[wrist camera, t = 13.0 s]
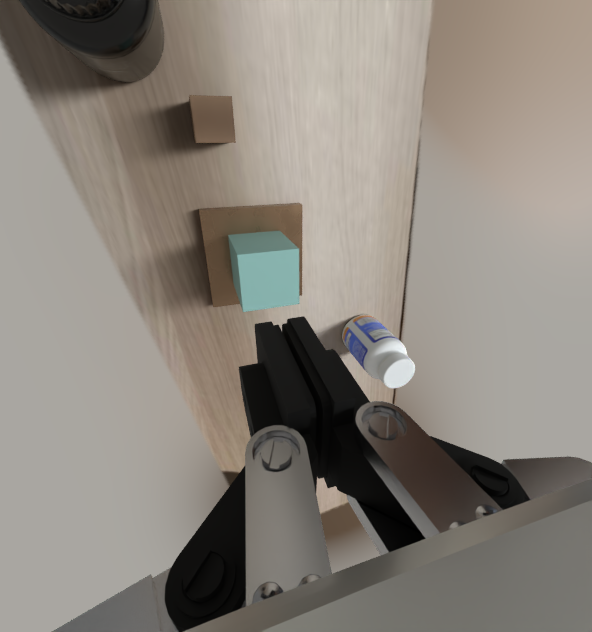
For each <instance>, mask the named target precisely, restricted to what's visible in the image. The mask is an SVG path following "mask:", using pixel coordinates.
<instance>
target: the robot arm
mask: <svg viewBox="0 0 592 632" xmlns="http://www.w3.org/2000/svg"><path fill="white" fill-rule="evenodd" d="M255 335H256V347H257V359H258V363H257V364H252V365H246V366H241V367H239V373H240V381H241V389H242V395H243V401H244V407H245V412H246V416H247V421H248V426H249V431H250V435H251V439H250V440H249V442H248V444H247V447H246V453H245V467H244V468H243V469H242V471H241V472H240V473H239V475H238V476H237V477H236V479H235V480H234V481H233V483H232V484H231V485H230V487H229V488H228V490H227V491H226V492H225V494H224V495H223V496H222V498H221V499H220V500H219V502H218V503H217V504H216V506H215V507H214V508H213V510H212V511H211V513H210V514H209V515H208V517H207V518H206V519H205V521H204V522H203V523H202V525H201V526H200V527H199V529H198V530H197V531H196V533H195V534H194V536H193V537H192V538H191V539H190V541H189V542H188V544H187V545H186V546H185V548H184V549H183V550H182V552H181V553H180V554H179V556H178V557H177V559H176V561H175V562H174V564H173V566H172V567H171V568H169V569H167V570H166V571H164V572H162V573H161V574H159V575H157V576H156V577H154V578H152V576H151V575H149V576H147V577H145V578H143V579H142V580H140V581H138V582H137V583H135V584H133V585H131V586H130V587H128V588H126V589H125V590H123V591H121V592H120V593H118V594H116V595H114V596H113V597H111V598H109V599H107V600H106V601H104V602H102V603H100V604H99V605H97V606H95V607H94V608H92V609H90V610H88V611H87V612H85V613H83V614H82V615H80V616H78V617H76V618H75V619H73V620H71V621H70V622H68V623H66V624H64V625H63V626H61V627H59V628H57V629H56V630H54V631H52V632H592V463H591V462H589V461H586V460H583V459H580V458H576V457H550V458H529V459H507V460H503V462H502V464H500V463H498V462H496V461H494V460H492V459H490V458H488V457H485V456H482V455H479V454H477V453H474V452H471V451H469V450H466V449H464V448H461V447H458V446H455V445H453V444H450V443H447V442H445V441H442V440H439V439H437V438H434V437H431V436H429V435H428V434H427V433H426V432H425V431H424V430H423V429H422V428H421V427H420V426H419V425H418V424H417V423H416V422H415V421H414V420H413V419H412V418H411V417H410V416H409V415H408V414H407V413H406V412H405V411H403V410H402V409H401V408H399V407H397V406H395V405H393V404H391V403H387V402H383V401H374V402H370V401H369V400H368V398H367V397H366V395H365V394H364V393H363V391H362V390H361V388H360V387H359V385H358V384H357V382H356V381H355V379H354V378H353V376H352V375H351V373H350V372H349V370H348V369H347V367H346V366H345V364H344V363H343V361H342V360H341V358H340V357H339V355H338V354H337V353H336V351H335V350H333V349H331V350H325V348H324V347H323V345H322V344H321V342H320V340H319V339H318V337H317V336H316V334H315V333H314V331H313V329H312V328H311V326H310V325H309V323H308V321H307V320H306V318H305V317H297V318H291V319H288V320H287V323H286V324H283V325H282V331H281V329H280V327H279V325H274V326H273V323H272V322H265V323H259V324H255ZM317 477H318V478H323V477H324V479H325V482H326V484H327V487H328V488H330V487H334V486H336V487H337V489H338V490H339V491H341V492H343V493H345V494H347V499H348V501H349V503H350V505H351V507H352V509H353V510H354V512H355V513H356V515H357V517H358V519H359V520H360V522H361V523H362V525H363V526H364V529H365V530H366V532H367V533H368V535H369V537H370V538H371V540H372V542H373V543H374V545H375V546H376V548H377V550H378V551H379V553H380V555H381V556H378V557H376V558H373V559H370V560H368V561H365V562H362V563H360V564H357V565H355V566H352V567H349V568H347V569H344V570H341V571H339V572H336V573H333V574H332V573H331V567H330V562H329V557H328V552H327V547H326V542H325V537H324V532H323V528H322V522H321V517H320V512H319V507H318V501H317V496H316V484H317Z"/></svg>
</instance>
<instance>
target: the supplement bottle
mask: <svg viewBox="0 0 592 632" xmlns="http://www.w3.org/2000/svg"><path fill="white" fill-rule="evenodd" d="M19 1H20V2H21V4H22V5H23V6H24V8H25V9H26V10H27V12H28V13H29V14H30V15H31V17H32V18H33V19H34V20H35V21H36V22H37V23H38V24H39V25H40V26H41V27H42V28H43V29H44V30H45V31H46V32H47V33H48V34H49V35H50V36H51V37H53V38H54V39H55V40H56V41H57V42H59V43H60V44H61V45H62V46H64V47H65V48H66V49H67V50H68V51H70V52H71V53H72V54H73V55H74V56H76V57H77V58H78V59H79V60H81V61H82V62H83V63H84V64H85V65H87V66H88V67H90V68H91V69H92V70H94V71H95V72H97V73H98V74H100V75H102V76H104V77H107V78H109V79H112V80H115V81H120V82H133V81H137V80H140V79H143V78H145V77H146V76H148V75H149V74H150V73H151V72H152V71H153V70H154V69H155V68H156V66H157V65H158V63H159V61H160V58H161V56H162V52H163V46H164V30H163V22H162V17H161V12H160V8H159V3H158V0H19Z"/></svg>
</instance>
